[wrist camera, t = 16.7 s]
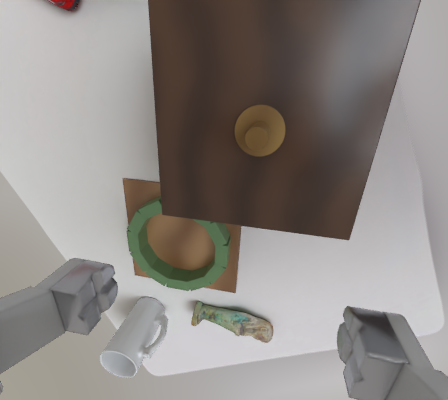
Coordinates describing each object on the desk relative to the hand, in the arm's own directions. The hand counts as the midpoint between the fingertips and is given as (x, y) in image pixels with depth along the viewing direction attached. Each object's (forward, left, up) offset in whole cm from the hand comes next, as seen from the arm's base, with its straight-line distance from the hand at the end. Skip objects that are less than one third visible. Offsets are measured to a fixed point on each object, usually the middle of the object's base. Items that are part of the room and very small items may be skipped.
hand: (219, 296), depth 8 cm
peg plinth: (0, -4, -28) cm, 28 cm away
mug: (+18, +35, -28) cm, 49 cm away
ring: (+12, +17, -28) cm, 35 cm away
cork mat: (+12, +17, -28) cm, 35 cm away
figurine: (+2, +33, -28) cm, 44 cm away
